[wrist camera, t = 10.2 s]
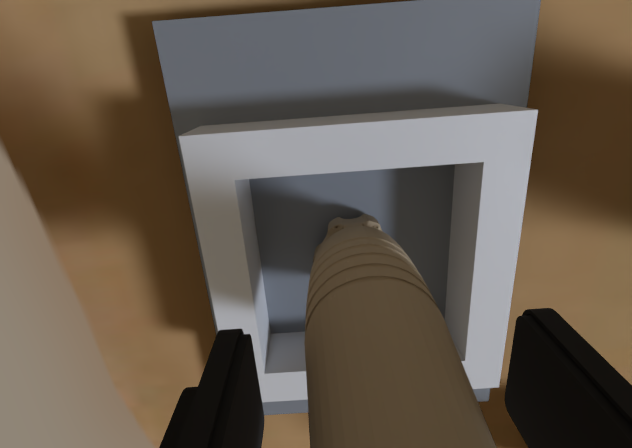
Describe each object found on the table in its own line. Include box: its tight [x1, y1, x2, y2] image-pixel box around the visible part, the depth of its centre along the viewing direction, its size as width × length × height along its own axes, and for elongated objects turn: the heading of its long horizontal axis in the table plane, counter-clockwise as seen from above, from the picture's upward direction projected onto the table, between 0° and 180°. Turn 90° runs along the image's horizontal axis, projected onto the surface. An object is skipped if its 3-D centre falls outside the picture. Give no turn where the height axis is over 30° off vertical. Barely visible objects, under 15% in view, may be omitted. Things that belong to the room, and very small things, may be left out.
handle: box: [304, 214, 497, 448], centre depth 9 cm, size 5×6×15 cm
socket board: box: [152, 0, 541, 415], centre depth 15 cm, size 18×13×4 cm
